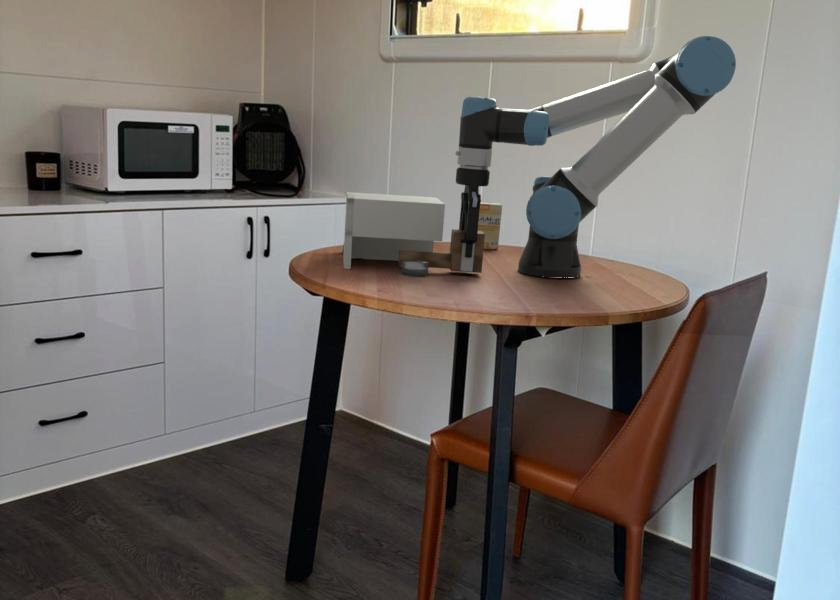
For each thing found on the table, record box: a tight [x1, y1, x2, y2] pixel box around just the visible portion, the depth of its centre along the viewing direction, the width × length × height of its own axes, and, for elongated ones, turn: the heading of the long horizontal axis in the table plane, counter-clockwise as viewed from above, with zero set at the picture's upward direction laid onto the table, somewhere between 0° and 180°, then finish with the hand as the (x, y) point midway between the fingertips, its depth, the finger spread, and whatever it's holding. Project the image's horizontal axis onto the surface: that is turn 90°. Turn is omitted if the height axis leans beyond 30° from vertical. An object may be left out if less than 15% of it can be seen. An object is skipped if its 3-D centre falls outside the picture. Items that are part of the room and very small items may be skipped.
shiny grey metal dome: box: [401, 259, 429, 278], centre depth 180 cm, size 6×6×3 cm
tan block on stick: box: [397, 229, 485, 274], centre depth 183 cm, size 19×5×9 cm, turn 95°
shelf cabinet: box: [342, 191, 446, 270], centre depth 188 cm, size 22×16×16 cm
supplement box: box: [478, 201, 503, 251], centre depth 227 cm, size 8×5×13 cm, turn 102°
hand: (464, 268), depth 185 cm, fingers closed on tan block on stick, 5 cm apart
